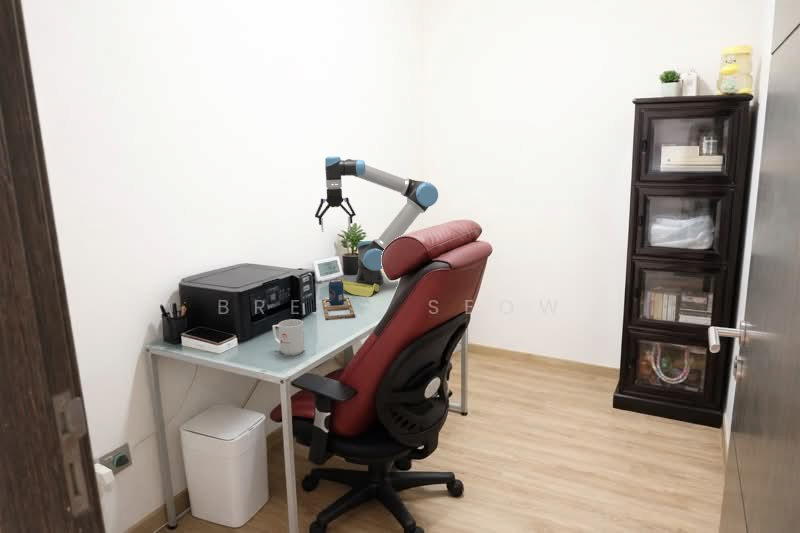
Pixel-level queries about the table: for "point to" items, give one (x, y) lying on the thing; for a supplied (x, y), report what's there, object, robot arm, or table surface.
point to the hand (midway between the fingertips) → (336, 230)
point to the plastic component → (360, 288)
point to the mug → (290, 336)
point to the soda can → (336, 292)
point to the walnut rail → (339, 307)
